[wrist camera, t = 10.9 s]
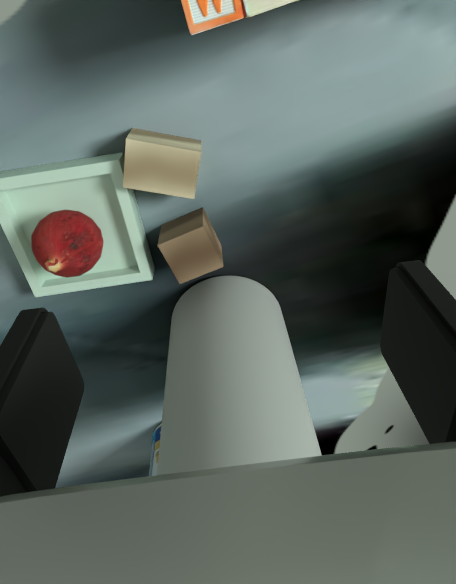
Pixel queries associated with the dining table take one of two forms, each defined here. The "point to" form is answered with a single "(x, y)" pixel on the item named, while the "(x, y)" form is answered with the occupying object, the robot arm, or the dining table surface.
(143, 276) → the dish
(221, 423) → the cylinder vase
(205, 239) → the walnut block
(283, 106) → the dining table surface
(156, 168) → the beech block
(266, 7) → the stack of blocks
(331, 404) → the dining table surface
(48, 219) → the red round fruit
